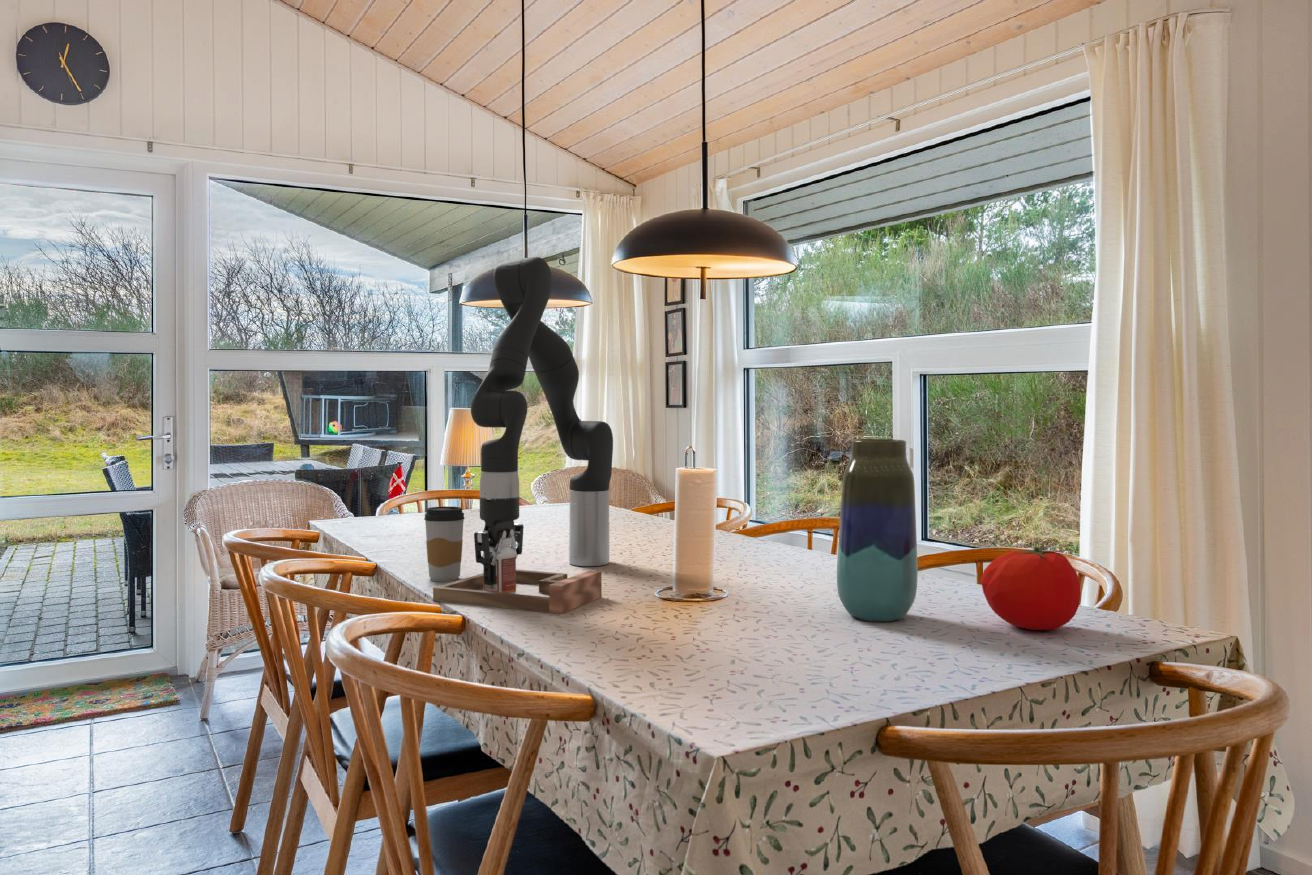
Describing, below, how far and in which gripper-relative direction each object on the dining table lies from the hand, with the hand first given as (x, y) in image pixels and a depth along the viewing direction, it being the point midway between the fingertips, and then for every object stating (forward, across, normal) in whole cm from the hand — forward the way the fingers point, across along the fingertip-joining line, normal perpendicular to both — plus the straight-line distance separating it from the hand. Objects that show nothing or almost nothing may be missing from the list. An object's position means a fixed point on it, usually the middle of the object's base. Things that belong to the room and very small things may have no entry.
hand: (499, 581), depth 181 cm
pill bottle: (+3, 0, 0) cm, 3 cm away
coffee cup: (+3, -11, -21) cm, 23 cm away
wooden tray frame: (+3, -4, +4) cm, 6 cm away
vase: (+3, -13, +69) cm, 71 cm away
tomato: (+3, -15, +94) cm, 96 cm away
